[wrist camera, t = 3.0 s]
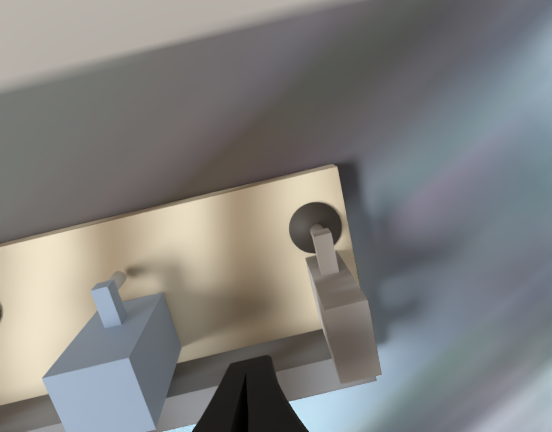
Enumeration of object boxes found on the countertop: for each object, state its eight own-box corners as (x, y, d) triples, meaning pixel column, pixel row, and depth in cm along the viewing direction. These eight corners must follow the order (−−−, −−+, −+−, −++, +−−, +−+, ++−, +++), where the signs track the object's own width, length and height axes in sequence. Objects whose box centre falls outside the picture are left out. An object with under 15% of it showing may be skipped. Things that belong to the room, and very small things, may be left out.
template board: (332, 163, 18) (370, 186, 12) (368, 348, 20) (414, 441, 14) (-129, 274, 18) (-315, 349, 12) (-36, 444, 20) (-152, 575, 14)
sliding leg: (151, 258, 17) (111, 313, 12) (181, 347, 18) (155, 429, 14) (86, 274, 17) (21, 334, 12) (121, 362, 18) (73, 448, 14)
